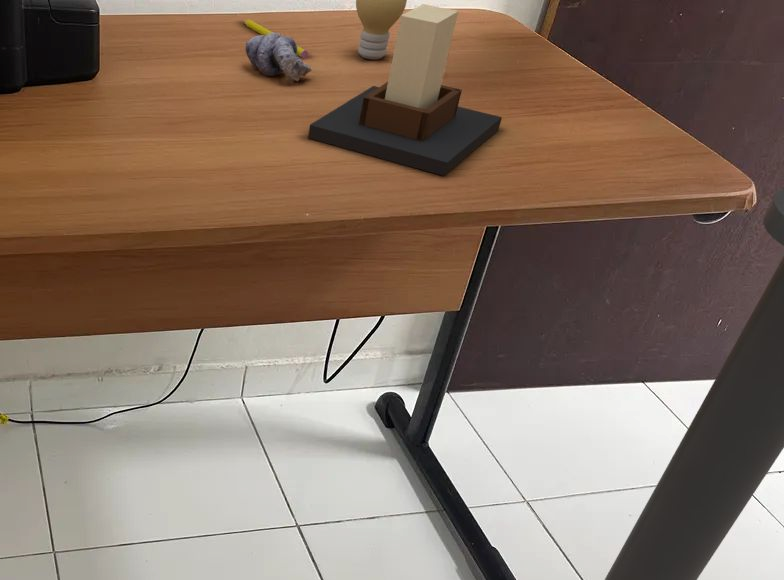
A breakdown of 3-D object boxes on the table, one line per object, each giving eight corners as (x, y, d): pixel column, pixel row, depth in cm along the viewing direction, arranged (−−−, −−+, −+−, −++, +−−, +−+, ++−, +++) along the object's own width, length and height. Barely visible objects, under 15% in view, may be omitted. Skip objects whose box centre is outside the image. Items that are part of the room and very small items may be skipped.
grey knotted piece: (306, 93, 114) (245, 75, 119) (326, 52, 112) (264, 36, 118) (288, 73, 109) (226, 56, 114) (308, 30, 108) (245, 15, 113)
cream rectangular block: (434, 117, 101) (459, 11, 94) (413, 132, 98) (437, 23, 90) (400, 108, 103) (422, 3, 95) (379, 123, 99) (400, 15, 92)
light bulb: (363, 66, 118) (378, -18, 111) (338, 51, 122) (351, -31, 115) (404, 61, 120) (421, -22, 113) (378, 47, 124) (393, -34, 117)
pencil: (307, 58, 120) (308, 50, 120) (301, 58, 120) (302, 51, 119) (246, 23, 131) (247, 16, 131) (240, 24, 131) (241, 17, 130)
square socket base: (498, 130, 102) (510, 89, 99) (443, 176, 93) (454, 133, 90) (371, 98, 109) (378, 59, 106) (307, 138, 100) (313, 96, 97)
